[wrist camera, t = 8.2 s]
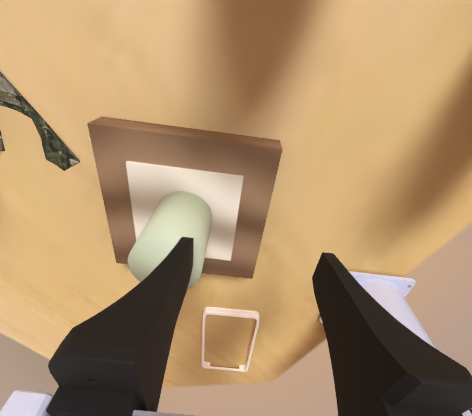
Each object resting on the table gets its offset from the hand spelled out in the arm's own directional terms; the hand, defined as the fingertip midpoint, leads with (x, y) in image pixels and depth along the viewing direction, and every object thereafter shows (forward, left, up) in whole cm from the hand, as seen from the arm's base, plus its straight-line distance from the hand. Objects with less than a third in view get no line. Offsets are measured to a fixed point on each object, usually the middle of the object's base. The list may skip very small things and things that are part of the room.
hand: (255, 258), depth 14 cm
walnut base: (-3, +6, -9) cm, 11 cm away
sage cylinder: (-3, +6, -7) cm, 9 cm away
